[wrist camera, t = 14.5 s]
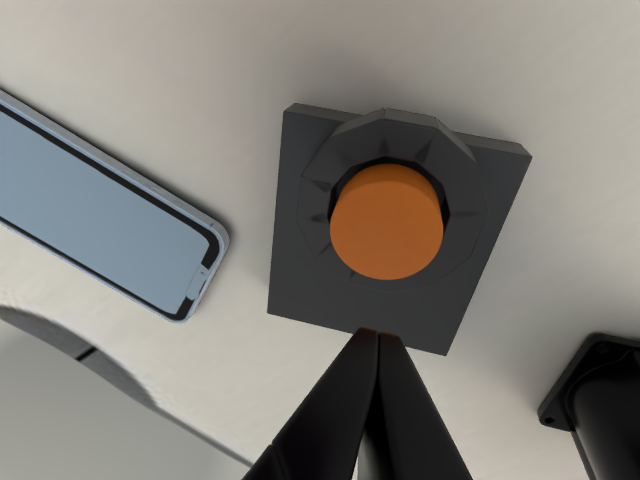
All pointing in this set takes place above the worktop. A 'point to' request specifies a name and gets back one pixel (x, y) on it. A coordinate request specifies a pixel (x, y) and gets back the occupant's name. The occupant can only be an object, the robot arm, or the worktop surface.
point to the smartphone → (104, 215)
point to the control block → (321, 198)
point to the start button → (387, 222)
